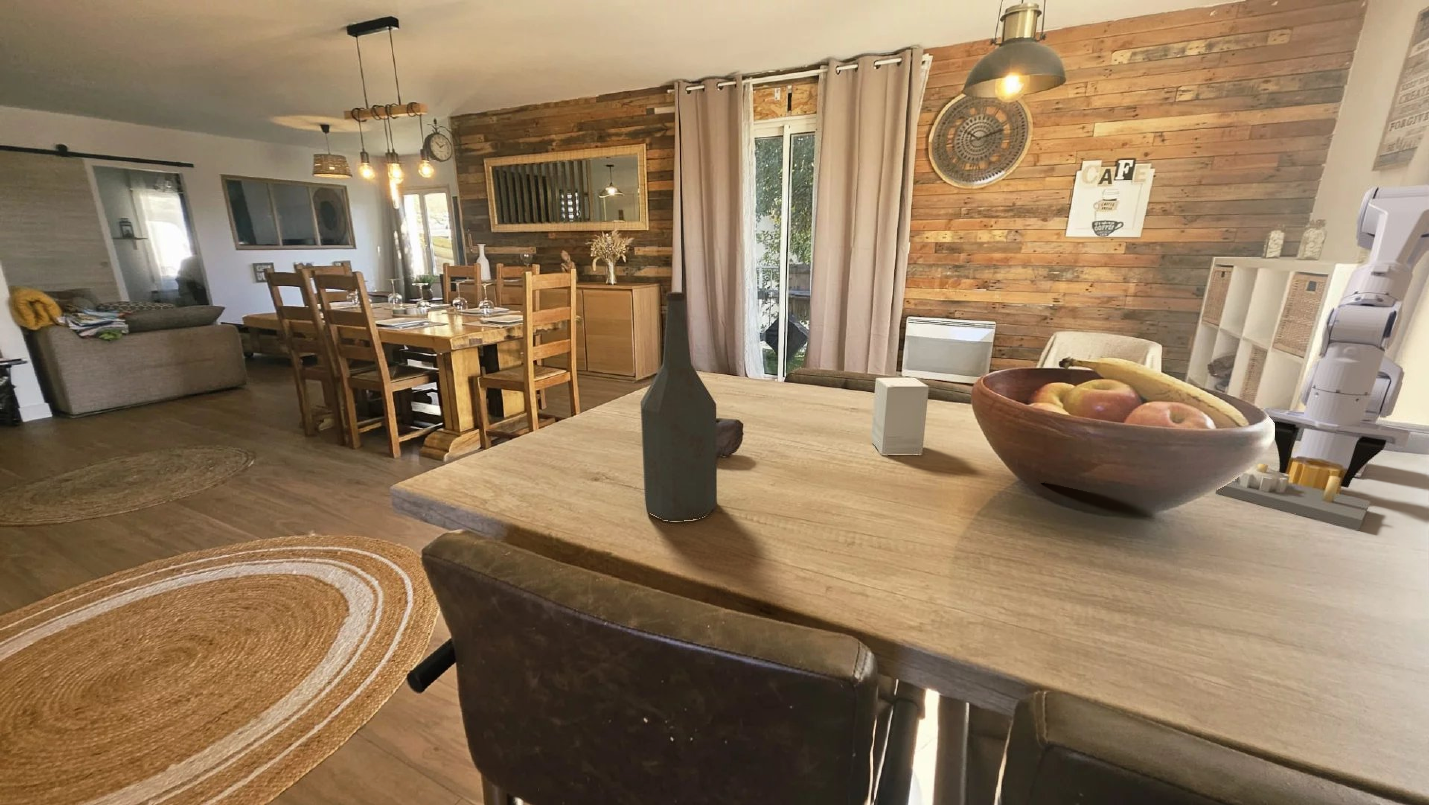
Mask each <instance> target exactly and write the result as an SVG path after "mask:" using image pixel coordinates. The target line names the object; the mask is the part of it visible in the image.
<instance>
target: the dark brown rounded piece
mask: <svg viewBox="0 0 1429 805" xmlns="http://www.w3.org/2000/svg"><path fill="white" fill-rule="evenodd" d="M744 435H745V433H744V423H743V422H742V421H741V420H739V419H736V418H735V419H734V418H723V417H716V444H717V457H718V456H721V455H722V456H726V457H725V458H729V456H730V457H731V456H732V455H734V454H735V453H736V452H738V449H739V448H740V447H741V445H742V444H743V439H744ZM733 453H734V454H733Z"/></svg>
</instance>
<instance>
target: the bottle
mask: <svg viewBox="0 0 1429 805" xmlns="http://www.w3.org/2000/svg"><path fill="white" fill-rule="evenodd" d="M685 297H686V295H685V293H684V292H683V291H669V292H666V294H665V298H666V301H667V303H666V316H665V331H664V332H665V333H664V347H663V356H662V359H663V361H662V364H661V366H660V368H659V370H658V371H657V373H656V375H655V376H654V379H653V380H652V382H651V383H650V385H649V386H648V388H647V390H646V392H645V394H644V395H643V397H642V399H641V401H640V417H641V418H640V419H641V420H640V421H641V423H640V424H641V444H642V462H643V463H642V465H643V468H642V469H643V486H644V503H645V508H646V509H645V510H646V512H648V514H649V513H651V514H653V515H655V516H657V517H659V518H661V519H663V520H668V521H684V520H693V519H699V518H702V517H704V516H706V515H707V514H708V513H709V512H710V511H711V510H712V509H713V508H715V507H716V506H717V504H718V503H717V502H718V499H717V498H718V496H717V494H718V493H717V492H718V490H717V488H718V487H717V486H718V481H717V480H718V479H717V476H718V473H717V470H718V469H717V467H718V466H717V459H718V458H717V457H718V456H717V444H716V418H717V403H716V401H715V400H714V398H713V396H712V395H711V393H710V392H709V390H708V388H707V387H706V385H705V384H704V381H702V379H701V377H700V375H699V373H698V372H697V371H696V370H695V367H694V366H693V364H692V359H691V353H690V350H691V349H690V344H689V343H690V342H689V334H688V325H687V317H686V310H685V309H686V308H685ZM713 510H714V509H713ZM713 510H712V511H713ZM712 511H711V512H712ZM711 512H710V513H711ZM710 513H709V514H710ZM709 514H708V515H709ZM708 515H707V516H708ZM702 519H703V518H702ZM699 520H700V519H699Z"/></svg>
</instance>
